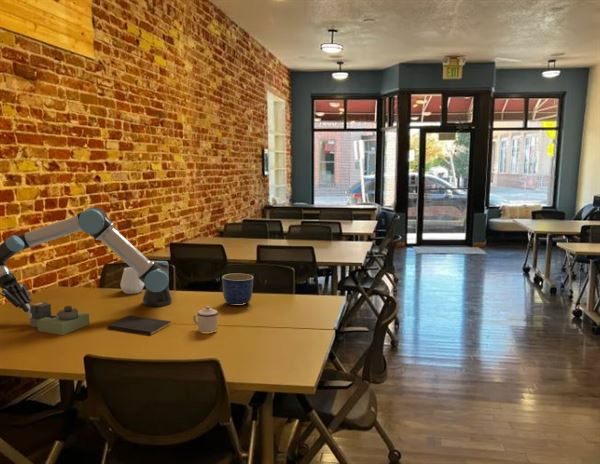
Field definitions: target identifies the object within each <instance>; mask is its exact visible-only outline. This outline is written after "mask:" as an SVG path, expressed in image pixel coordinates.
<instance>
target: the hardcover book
mask: <svg viewBox="0 0 600 464" xmlns="http://www.w3.org/2000/svg"><path fill="white" fill-rule="evenodd" d="M171 322H172V321H170V320H165V319H164V320H163V319H157V318H152V317H144V316H138V315H137V316H136V315H130V314H129V315H127V316H125V317H123V318H121V319H118V320H117V321H114V322H112V323H110V324H108V325H107V330H113V331H118V332H119V331H120V332H126V333H131V332H132V334H138V333H139V335H144V334H147V335H146V336H150V335H151V334H152V335H154V334H156V333H157V332H156V331H158V330H160V329H161V328H163V327H165V326H166V325H168V324H170V325H171ZM165 328H166V327H165ZM160 331H161V330H160ZM155 332H156V333H155ZM158 332H159V331H158ZM153 333H154V334H153ZM152 335H151V336H152Z"/></svg>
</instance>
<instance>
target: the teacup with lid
mask: <svg viewBox="0 0 600 464" xmlns="http://www.w3.org/2000/svg"><path fill="white" fill-rule="evenodd" d="M218 314H219V312H218V310H216V309H213V308H212V307H211V306H210V305H206V306H205V308H202V309H200V310H198V311H197V313H195V314H194V315H193V316H192V320H193V323H194V324H195V325H197V332H198V331H200V332H211V331H215V330H217V331H218ZM196 317H197V320H196Z"/></svg>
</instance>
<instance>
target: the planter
mask: <svg viewBox="0 0 600 464" xmlns="http://www.w3.org/2000/svg"><path fill="white" fill-rule="evenodd" d="M221 279H222V280H221V281H222V294H223V295H222V296H223V299H224V301H225V302H226V303H227V304H228V303H229V304H243V303H247V302H248V303H250V301H251V300H252V297H253V290H254V289H253V288H254V275H252V274H248V273H247V274H246V273H228V274H224V275H222V277H221ZM248 303H247V304H248ZM229 304H228V305H229Z"/></svg>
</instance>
